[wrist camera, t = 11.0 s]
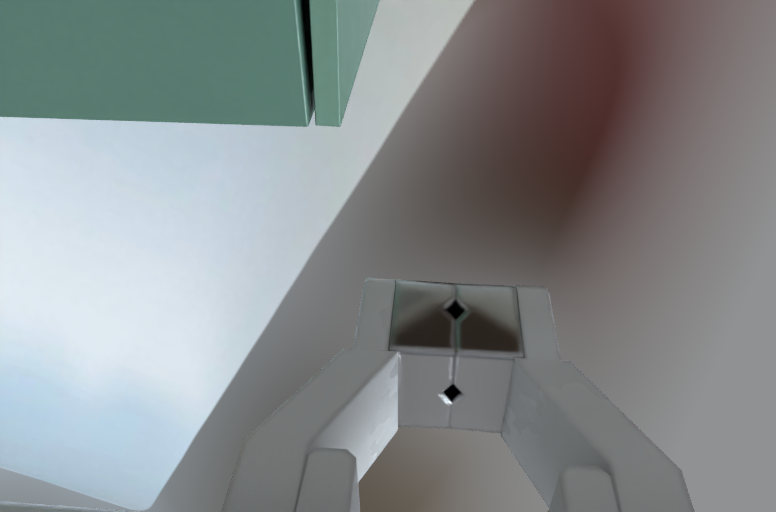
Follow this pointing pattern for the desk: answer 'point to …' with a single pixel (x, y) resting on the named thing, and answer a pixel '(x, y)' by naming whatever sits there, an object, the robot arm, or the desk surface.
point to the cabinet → (158, 61)
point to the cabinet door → (337, 52)
